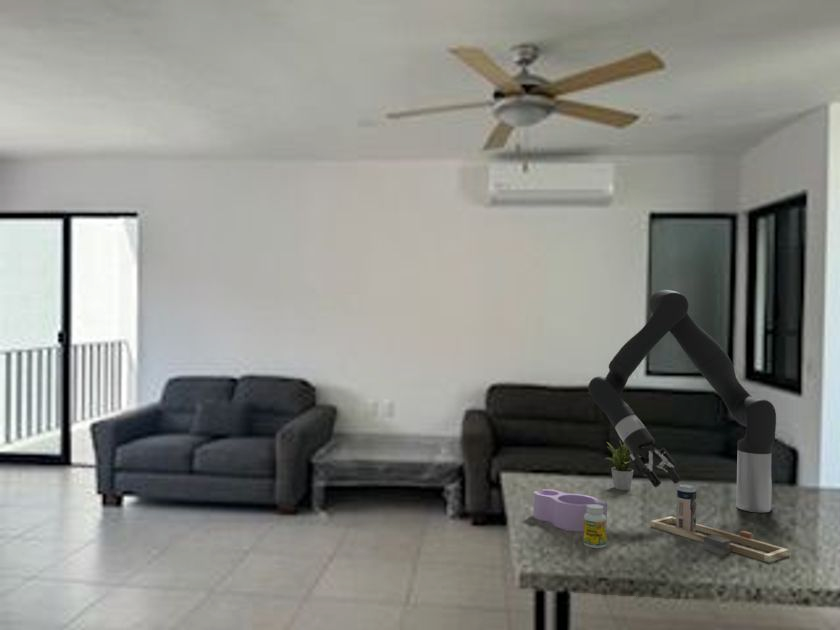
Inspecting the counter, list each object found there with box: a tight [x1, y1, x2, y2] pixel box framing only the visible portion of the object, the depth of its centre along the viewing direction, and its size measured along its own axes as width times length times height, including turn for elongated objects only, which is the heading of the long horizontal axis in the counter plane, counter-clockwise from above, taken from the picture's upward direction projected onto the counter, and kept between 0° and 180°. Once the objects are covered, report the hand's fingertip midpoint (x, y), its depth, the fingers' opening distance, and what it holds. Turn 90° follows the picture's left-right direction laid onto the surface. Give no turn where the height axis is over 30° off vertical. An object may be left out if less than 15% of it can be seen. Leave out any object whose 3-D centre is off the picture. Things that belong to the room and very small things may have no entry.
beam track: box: [650, 515, 790, 563], centre depth 174 cm, size 15×32×3 cm, turn 35°
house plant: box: [604, 438, 634, 491], centre depth 228 cm, size 14×14×16 cm
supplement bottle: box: [583, 504, 607, 549], centre depth 169 cm, size 5×5×10 cm
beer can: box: [675, 483, 697, 533], centre depth 182 cm, size 5×5×12 cm
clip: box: [532, 488, 608, 532], centre depth 188 cm, size 20×12×7 cm, turn 44°
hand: (668, 483), depth 187 cm, fingers open, 8 cm apart
